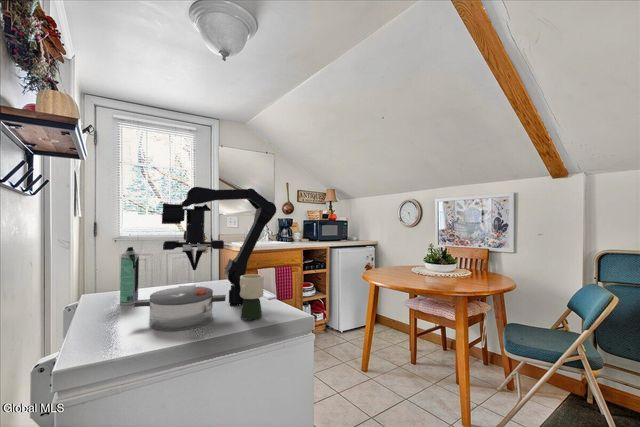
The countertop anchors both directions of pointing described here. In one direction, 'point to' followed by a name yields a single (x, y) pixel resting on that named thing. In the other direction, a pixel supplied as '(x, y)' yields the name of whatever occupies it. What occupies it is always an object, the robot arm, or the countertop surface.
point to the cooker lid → (181, 295)
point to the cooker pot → (180, 314)
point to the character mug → (251, 295)
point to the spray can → (129, 277)
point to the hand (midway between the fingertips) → (194, 270)
